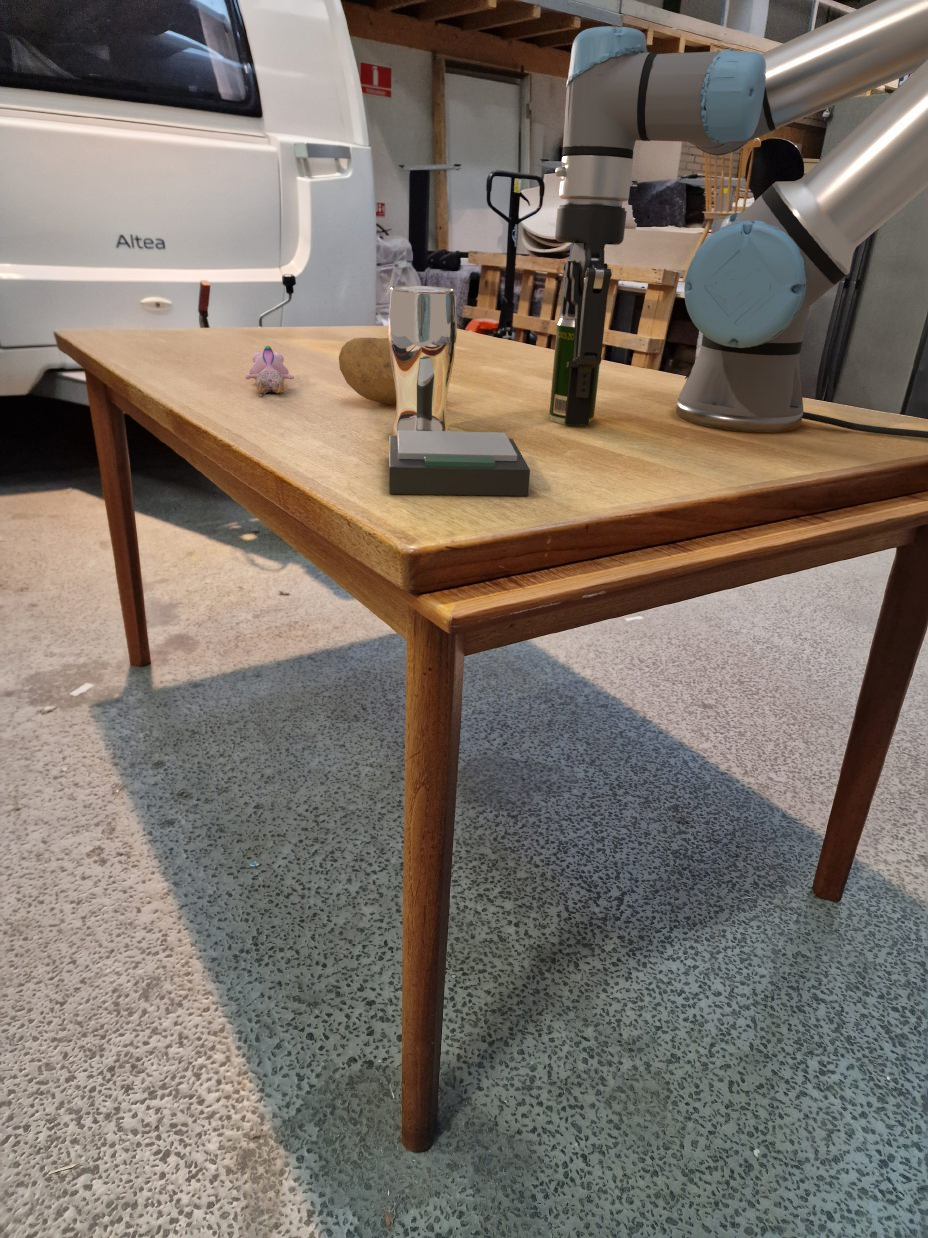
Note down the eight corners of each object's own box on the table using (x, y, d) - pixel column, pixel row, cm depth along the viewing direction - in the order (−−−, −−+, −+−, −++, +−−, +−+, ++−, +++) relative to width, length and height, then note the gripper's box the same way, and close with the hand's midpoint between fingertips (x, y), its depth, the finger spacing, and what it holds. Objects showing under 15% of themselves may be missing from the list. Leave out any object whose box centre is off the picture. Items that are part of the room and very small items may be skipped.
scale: (511, 462, 81) (513, 432, 79) (528, 496, 71) (530, 462, 70) (389, 460, 80) (389, 429, 78) (389, 494, 70) (389, 459, 68)
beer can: (584, 427, 96) (595, 319, 91) (541, 421, 98) (550, 315, 93) (599, 419, 100) (611, 315, 95) (559, 413, 102) (568, 311, 97)
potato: (456, 411, 101) (458, 343, 97) (341, 411, 98) (339, 341, 95) (444, 396, 110) (446, 333, 106) (338, 395, 107) (336, 331, 104)
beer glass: (445, 448, 84) (450, 292, 78) (380, 442, 86) (379, 288, 79) (458, 433, 91) (464, 287, 84) (398, 428, 92) (399, 284, 85)
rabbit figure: (296, 406, 106) (290, 367, 118) (294, 360, 102) (288, 325, 114) (246, 406, 104) (245, 367, 116) (243, 360, 101) (242, 324, 113)
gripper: (543, 203, 97) (528, 402, 107) (576, 200, 80) (554, 436, 90) (606, 206, 97) (585, 403, 108) (650, 203, 81) (621, 437, 91)
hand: (571, 418), depth 99 cm, fingers closed on beer can, 5 cm apart
